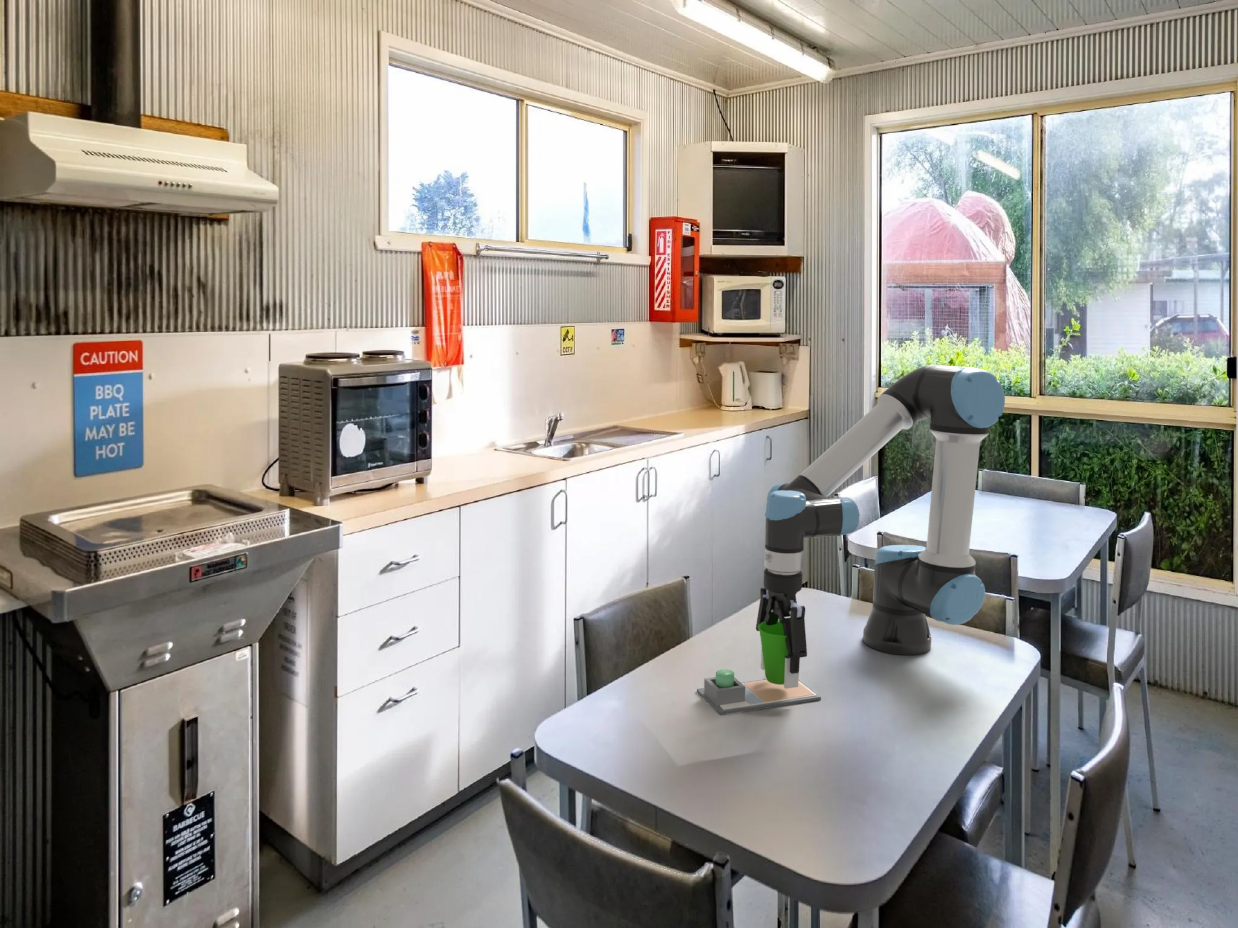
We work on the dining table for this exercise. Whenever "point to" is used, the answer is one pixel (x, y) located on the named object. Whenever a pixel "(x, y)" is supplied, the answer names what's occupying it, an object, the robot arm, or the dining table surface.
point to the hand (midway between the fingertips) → (778, 677)
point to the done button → (724, 678)
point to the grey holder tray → (753, 695)
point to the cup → (773, 651)
